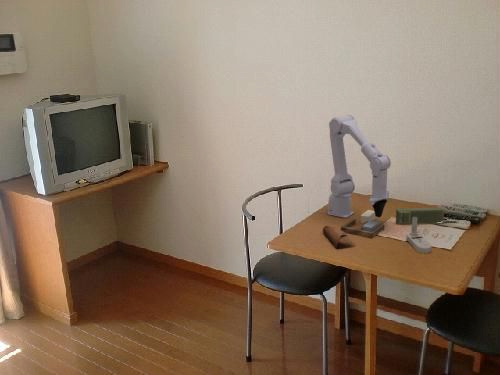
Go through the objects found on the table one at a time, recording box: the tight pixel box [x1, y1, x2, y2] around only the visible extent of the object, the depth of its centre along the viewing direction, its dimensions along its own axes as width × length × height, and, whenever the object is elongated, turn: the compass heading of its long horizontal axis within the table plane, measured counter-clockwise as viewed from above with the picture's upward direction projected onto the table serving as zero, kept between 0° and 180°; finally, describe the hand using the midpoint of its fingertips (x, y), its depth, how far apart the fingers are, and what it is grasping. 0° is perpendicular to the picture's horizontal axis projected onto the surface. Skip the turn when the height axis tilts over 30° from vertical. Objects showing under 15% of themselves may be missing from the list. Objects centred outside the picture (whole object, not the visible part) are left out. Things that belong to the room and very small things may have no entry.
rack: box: [340, 218, 386, 239], centre depth 223 cm, size 14×11×2 cm
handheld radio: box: [395, 207, 458, 225], centre depth 228 cm, size 7×3×25 cm
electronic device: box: [406, 217, 432, 254], centre depth 205 cm, size 5×10×15 cm
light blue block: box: [363, 219, 381, 232], centre depth 222 cm, size 8×4×3 cm, turn 141°
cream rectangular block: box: [360, 209, 376, 224], centre depth 234 cm, size 8×4×3 cm, turn 146°
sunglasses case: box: [322, 225, 357, 250], centre depth 214 cm, size 18×7×7 cm
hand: (378, 216), depth 225 cm, fingers closed
